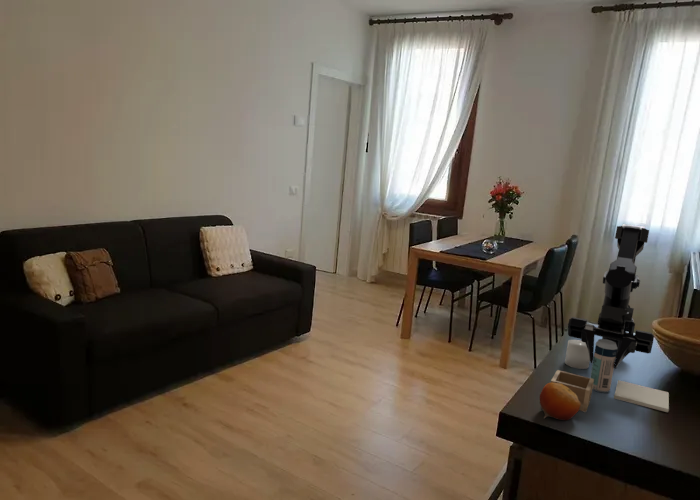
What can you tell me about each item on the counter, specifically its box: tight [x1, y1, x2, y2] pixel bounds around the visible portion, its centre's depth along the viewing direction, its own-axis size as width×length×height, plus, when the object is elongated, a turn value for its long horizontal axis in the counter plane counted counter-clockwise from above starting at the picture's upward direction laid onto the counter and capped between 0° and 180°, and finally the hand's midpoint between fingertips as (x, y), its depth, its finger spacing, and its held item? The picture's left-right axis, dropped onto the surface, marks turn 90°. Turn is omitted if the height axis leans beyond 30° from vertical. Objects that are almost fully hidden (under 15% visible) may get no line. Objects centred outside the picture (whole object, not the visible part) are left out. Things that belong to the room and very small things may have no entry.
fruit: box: [539, 381, 581, 421], centre depth 114 cm, size 8×8×8 cm
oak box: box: [550, 369, 594, 413], centre depth 122 cm, size 8×8×5 cm
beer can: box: [589, 338, 617, 393], centre depth 129 cm, size 5×5×12 cm
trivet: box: [613, 379, 670, 413], centre depth 128 cm, size 11×11×1 cm
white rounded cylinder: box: [564, 339, 590, 370], centre depth 145 cm, size 6×6×6 cm
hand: (602, 365), depth 128 cm, fingers closed on beer can, 5 cm apart
